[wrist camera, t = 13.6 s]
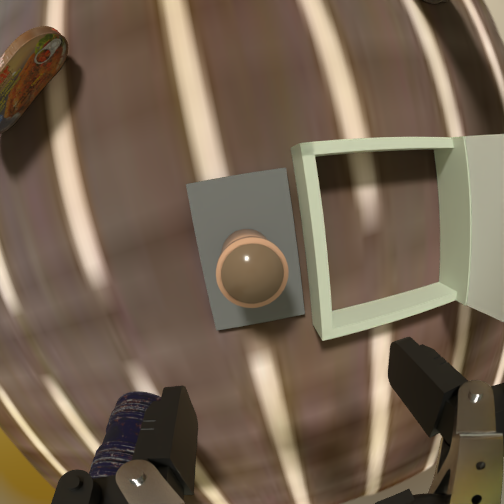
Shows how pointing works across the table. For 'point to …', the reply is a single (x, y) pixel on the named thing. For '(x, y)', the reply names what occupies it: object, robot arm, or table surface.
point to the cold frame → (451, 230)
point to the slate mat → (246, 217)
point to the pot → (251, 269)
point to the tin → (28, 70)
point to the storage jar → (121, 433)
